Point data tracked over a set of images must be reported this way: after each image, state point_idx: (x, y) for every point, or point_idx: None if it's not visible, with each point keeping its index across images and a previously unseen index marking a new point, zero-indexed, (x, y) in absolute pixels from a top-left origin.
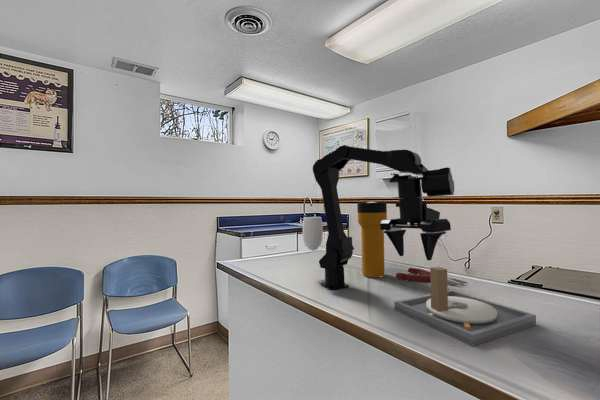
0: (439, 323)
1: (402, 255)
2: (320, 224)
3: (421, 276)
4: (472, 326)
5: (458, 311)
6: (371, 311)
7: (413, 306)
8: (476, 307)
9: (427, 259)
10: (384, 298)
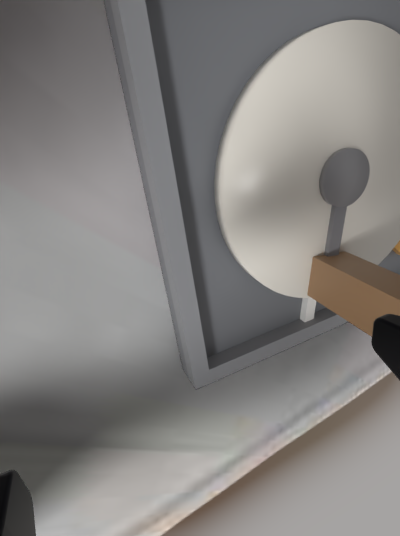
0: None
1: (22, 483)
2: None
3: None
4: None
5: (365, 220)
6: (171, 441)
7: (219, 314)
8: (375, 117)
9: (383, 352)
10: (37, 374)
